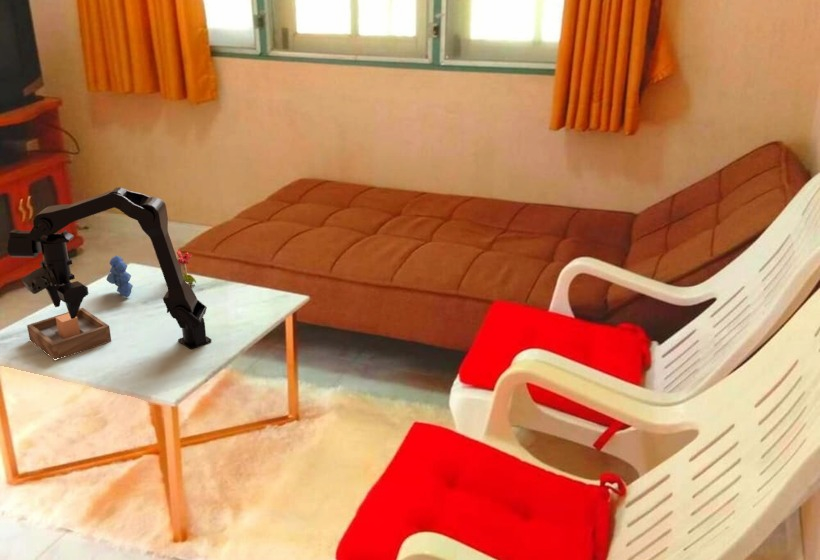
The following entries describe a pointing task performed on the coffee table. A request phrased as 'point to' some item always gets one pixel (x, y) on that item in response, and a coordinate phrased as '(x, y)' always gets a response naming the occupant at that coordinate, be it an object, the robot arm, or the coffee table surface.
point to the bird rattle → (182, 264)
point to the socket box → (57, 347)
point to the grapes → (120, 276)
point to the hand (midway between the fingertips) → (65, 312)
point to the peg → (67, 326)
